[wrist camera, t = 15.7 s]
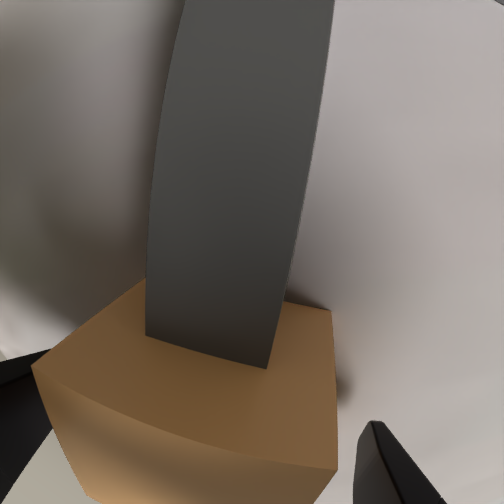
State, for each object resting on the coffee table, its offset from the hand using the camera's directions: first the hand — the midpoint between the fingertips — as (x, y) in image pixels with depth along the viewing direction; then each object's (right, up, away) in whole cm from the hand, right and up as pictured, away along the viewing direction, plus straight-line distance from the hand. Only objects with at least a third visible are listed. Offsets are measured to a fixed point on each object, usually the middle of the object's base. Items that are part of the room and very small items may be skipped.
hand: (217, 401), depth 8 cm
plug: (+2, +9, -2) cm, 9 cm away
